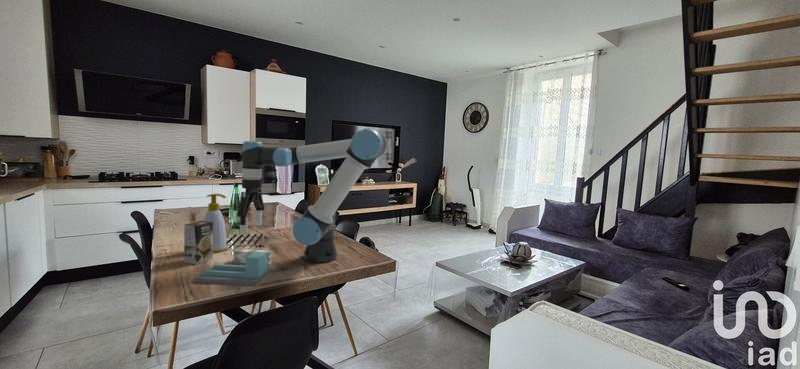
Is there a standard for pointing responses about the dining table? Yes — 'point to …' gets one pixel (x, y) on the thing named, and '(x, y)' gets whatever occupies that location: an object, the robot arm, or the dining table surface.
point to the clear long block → (242, 253)
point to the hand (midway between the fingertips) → (251, 228)
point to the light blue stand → (237, 271)
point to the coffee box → (198, 242)
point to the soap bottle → (216, 224)
